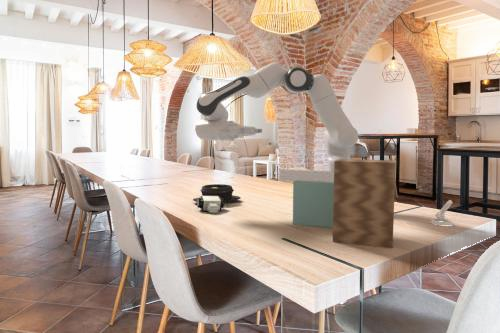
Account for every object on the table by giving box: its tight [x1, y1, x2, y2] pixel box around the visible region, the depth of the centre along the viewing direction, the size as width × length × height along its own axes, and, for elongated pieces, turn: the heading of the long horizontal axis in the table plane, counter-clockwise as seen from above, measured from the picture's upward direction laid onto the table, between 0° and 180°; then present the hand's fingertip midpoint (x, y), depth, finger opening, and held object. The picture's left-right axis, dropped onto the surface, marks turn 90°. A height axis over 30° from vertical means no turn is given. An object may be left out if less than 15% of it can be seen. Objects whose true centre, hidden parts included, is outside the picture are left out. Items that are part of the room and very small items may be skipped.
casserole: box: [192, 183, 242, 205], centre depth 189 cm, size 25×19×8 cm
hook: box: [430, 199, 454, 226], centre depth 141 cm, size 8×12×7 cm
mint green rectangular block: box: [292, 181, 334, 229], centre depth 143 cm, size 17×8×16 cm, turn 69°
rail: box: [279, 168, 334, 183], centre depth 142 cm, size 28×4×4 cm, turn 67°
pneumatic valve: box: [196, 195, 225, 214], centre depth 168 cm, size 6×12×12 cm
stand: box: [332, 159, 397, 249], centre depth 120 cm, size 18×10×26 cm, turn 68°
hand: (258, 130), depth 161 cm, fingers open, 8 cm apart
